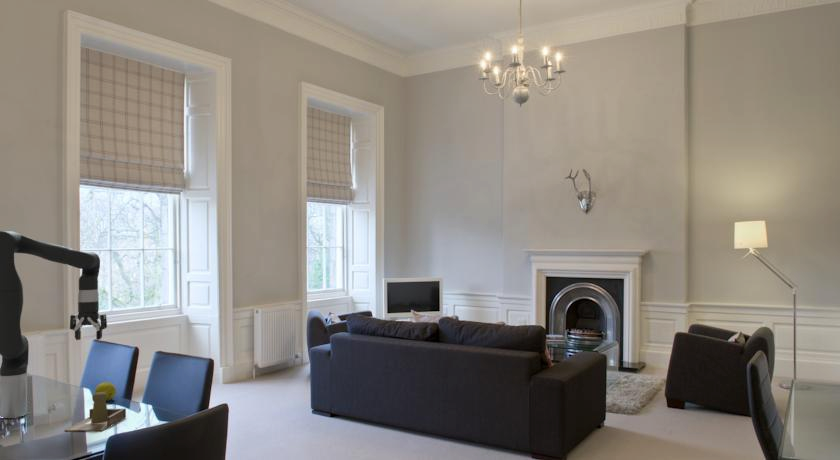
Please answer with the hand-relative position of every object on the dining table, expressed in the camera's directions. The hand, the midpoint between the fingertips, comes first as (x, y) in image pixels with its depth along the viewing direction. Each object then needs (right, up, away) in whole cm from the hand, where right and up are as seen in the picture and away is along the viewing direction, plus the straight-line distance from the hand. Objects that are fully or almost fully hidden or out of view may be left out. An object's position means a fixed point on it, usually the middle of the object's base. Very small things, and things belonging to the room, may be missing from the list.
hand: (88, 339), depth 255 cm
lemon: (-3, -31, +19) cm, 36 cm away
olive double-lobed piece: (+12, -29, -15) cm, 35 cm away
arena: (+12, -30, -17) cm, 36 cm away
